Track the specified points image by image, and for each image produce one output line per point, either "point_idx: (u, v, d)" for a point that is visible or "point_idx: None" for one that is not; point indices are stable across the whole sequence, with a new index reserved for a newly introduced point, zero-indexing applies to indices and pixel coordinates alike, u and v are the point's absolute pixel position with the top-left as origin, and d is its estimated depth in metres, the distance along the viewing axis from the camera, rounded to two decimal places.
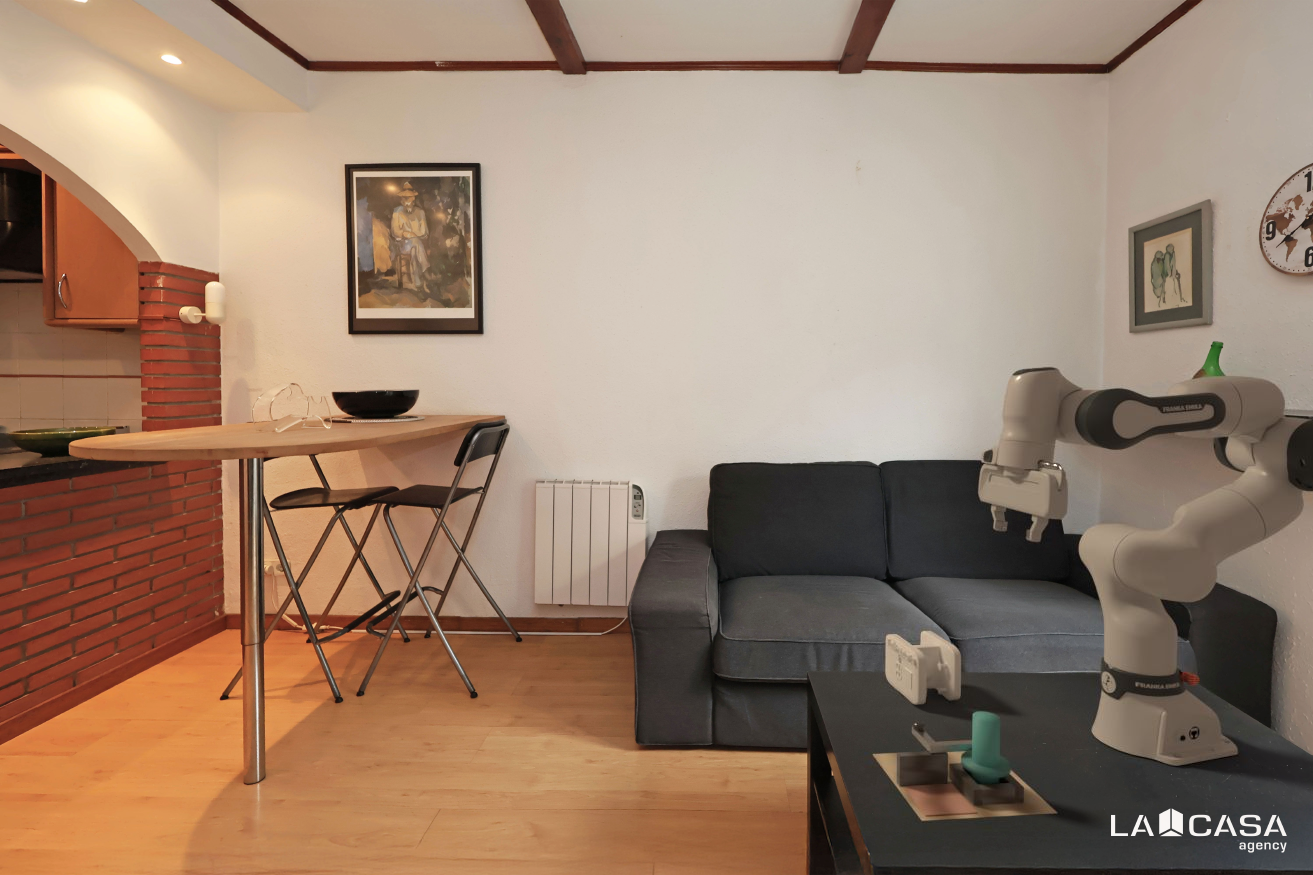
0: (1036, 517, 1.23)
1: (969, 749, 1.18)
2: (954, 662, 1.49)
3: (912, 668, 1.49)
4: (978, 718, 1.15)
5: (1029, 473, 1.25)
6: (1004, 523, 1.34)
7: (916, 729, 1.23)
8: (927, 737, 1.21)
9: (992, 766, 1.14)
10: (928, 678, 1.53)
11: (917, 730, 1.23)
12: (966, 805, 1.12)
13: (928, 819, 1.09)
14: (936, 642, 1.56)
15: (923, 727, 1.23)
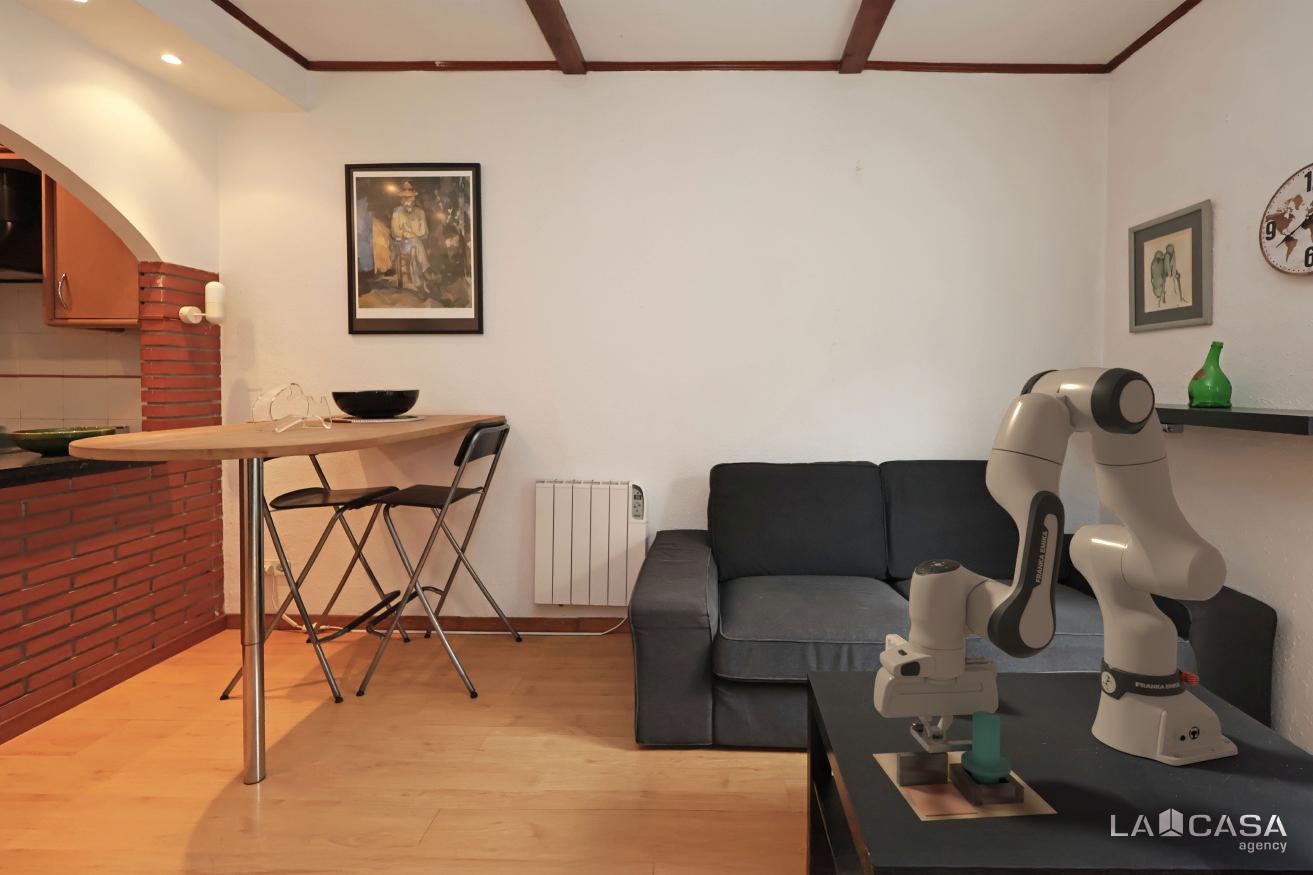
0: (951, 715, 1.21)
1: (968, 749, 1.18)
2: None
3: None
4: (978, 718, 1.15)
5: (965, 675, 1.20)
6: None
7: (915, 729, 1.23)
8: (926, 737, 1.21)
9: (992, 766, 1.14)
10: None
11: (916, 730, 1.23)
12: (966, 805, 1.12)
13: (928, 819, 1.09)
14: None
15: (922, 727, 1.23)
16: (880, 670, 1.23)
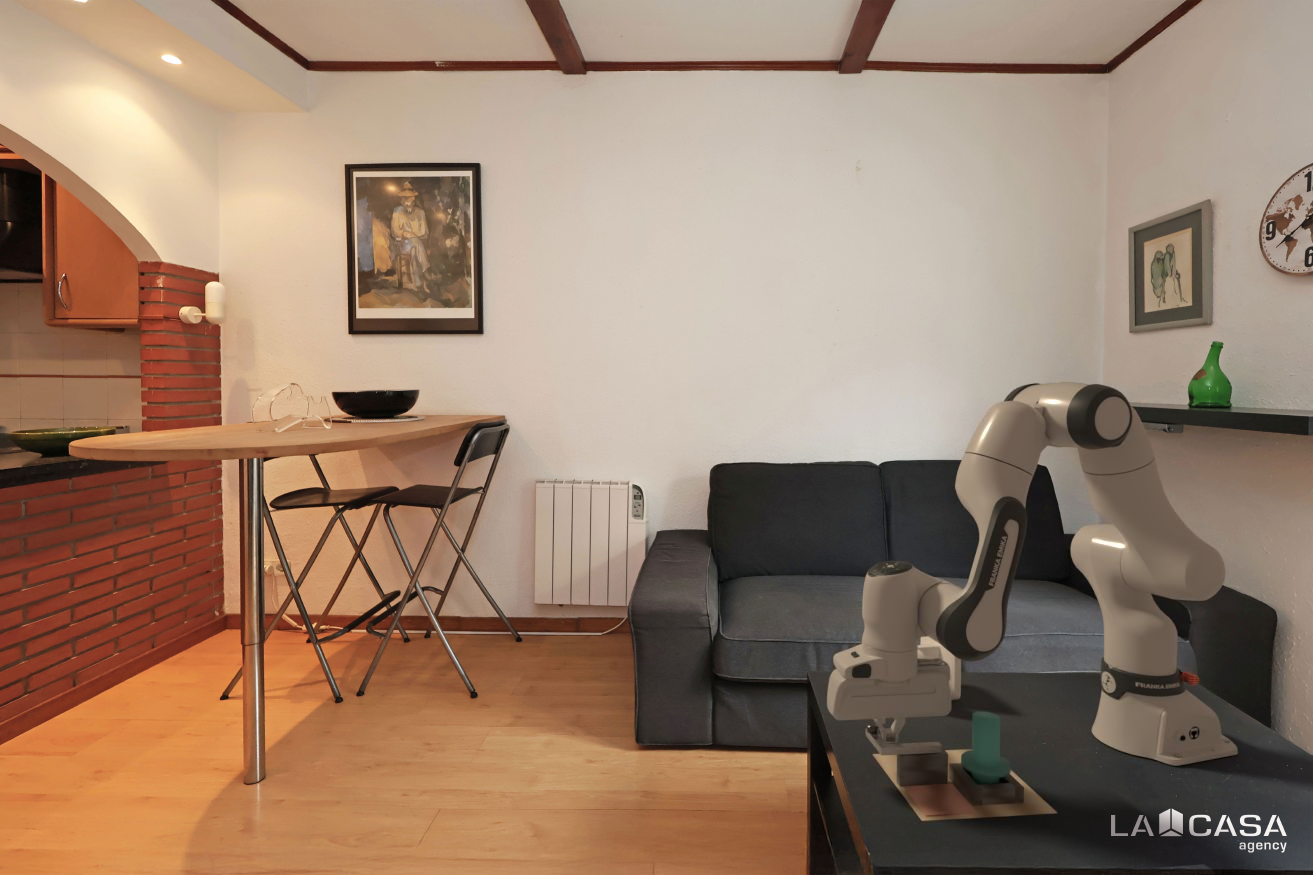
0: (904, 718, 1.21)
1: (921, 751, 1.18)
2: (954, 662, 1.49)
3: None
4: (978, 718, 1.15)
5: (918, 677, 1.20)
6: None
7: (869, 731, 1.22)
8: (879, 739, 1.20)
9: (992, 766, 1.14)
10: None
11: (870, 732, 1.22)
12: (966, 805, 1.12)
13: (928, 819, 1.09)
14: (936, 642, 1.56)
15: (876, 729, 1.22)
16: (833, 672, 1.22)
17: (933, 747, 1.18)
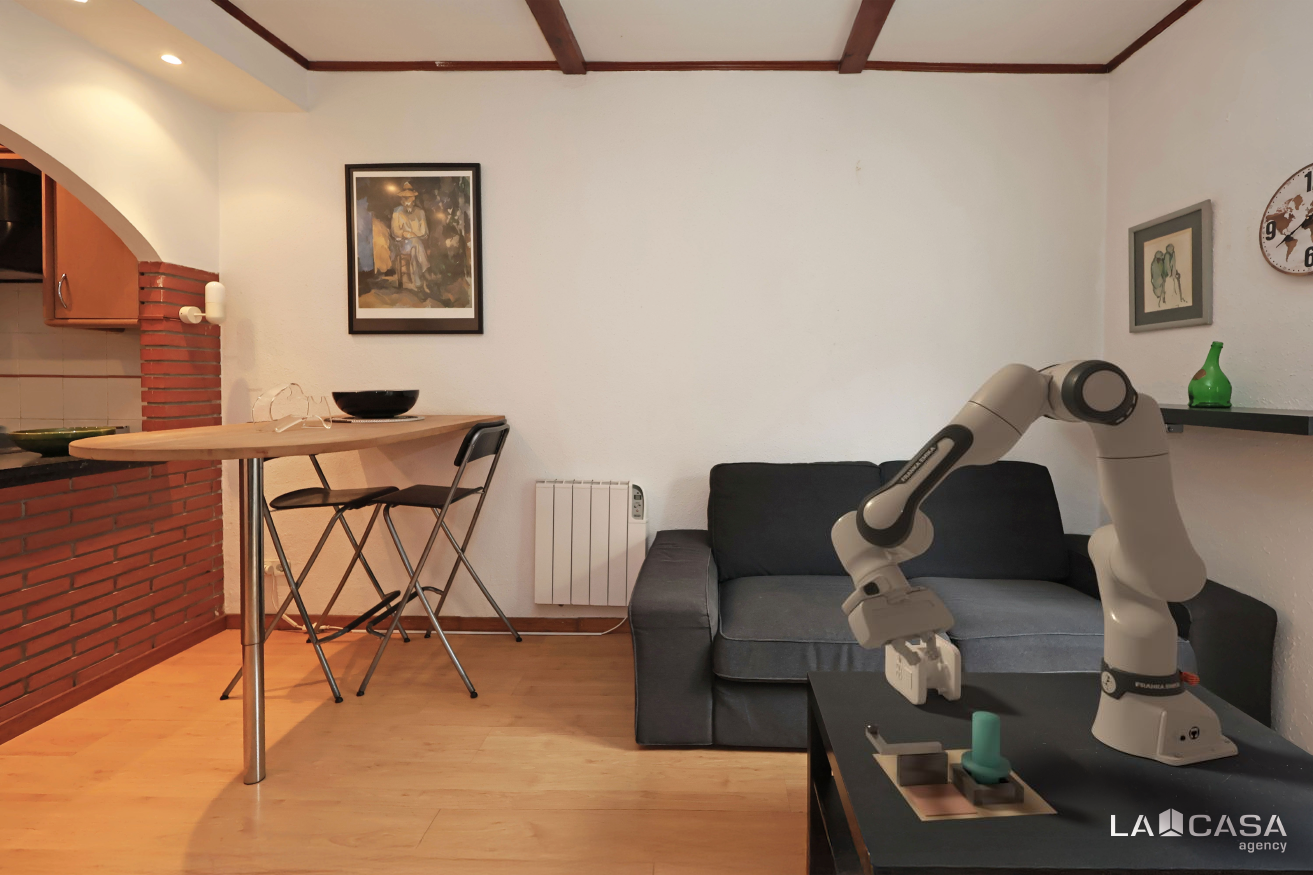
0: (932, 632, 1.30)
1: (921, 751, 1.18)
2: (954, 662, 1.49)
3: (912, 668, 1.49)
4: (978, 718, 1.15)
5: (914, 594, 1.34)
6: None
7: (869, 731, 1.22)
8: (879, 739, 1.20)
9: (992, 766, 1.14)
10: (928, 678, 1.53)
11: (870, 732, 1.22)
12: (966, 805, 1.12)
13: (928, 819, 1.09)
14: (936, 642, 1.56)
15: (876, 729, 1.22)
16: (849, 615, 1.30)
17: (933, 747, 1.18)
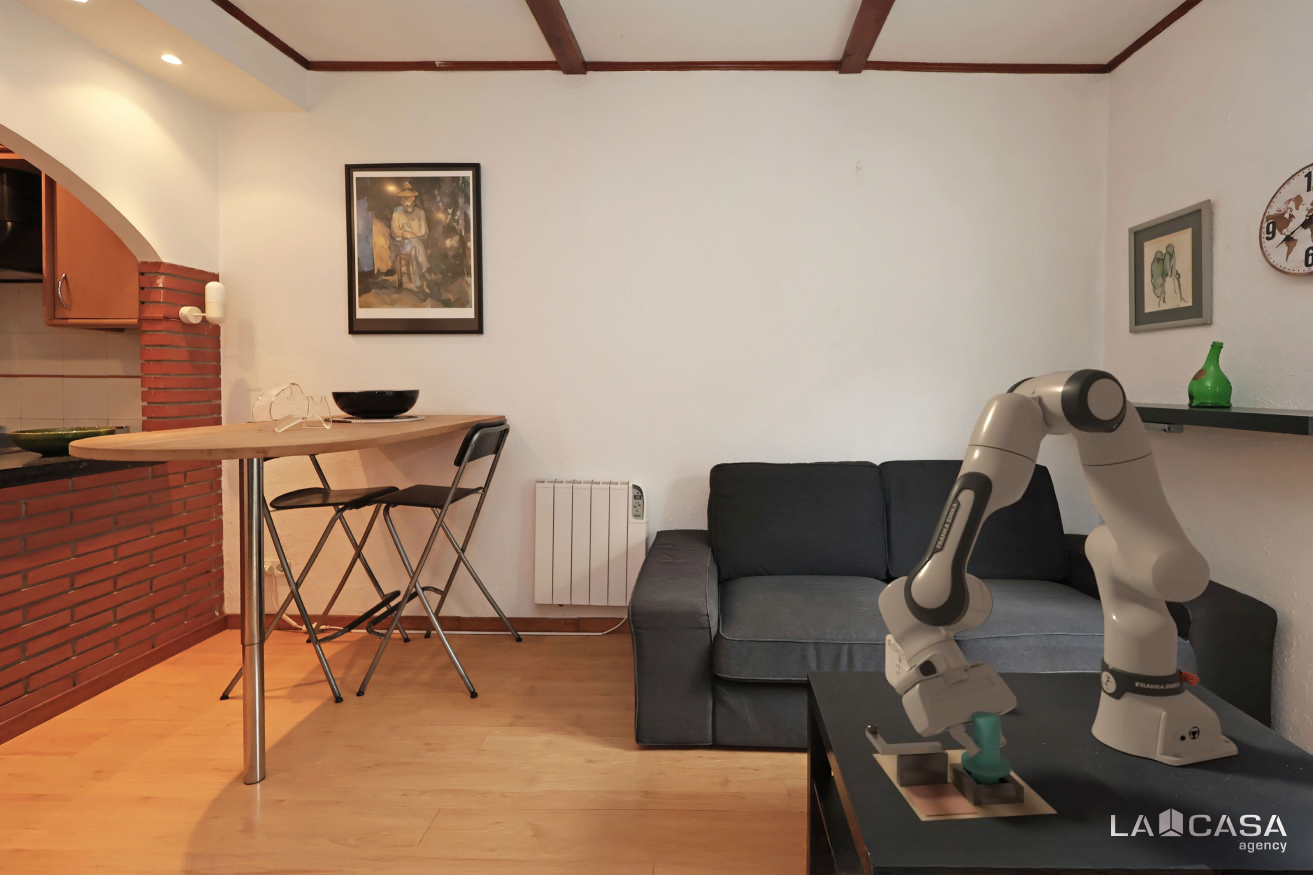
0: None
1: (921, 751, 1.18)
2: None
3: None
4: (978, 718, 1.15)
5: (972, 672, 1.23)
6: None
7: (869, 731, 1.22)
8: (879, 739, 1.20)
9: (992, 766, 1.14)
10: None
11: (870, 732, 1.22)
12: (966, 805, 1.12)
13: (928, 819, 1.09)
14: None
15: (876, 729, 1.22)
16: (903, 697, 1.19)
17: (933, 747, 1.18)
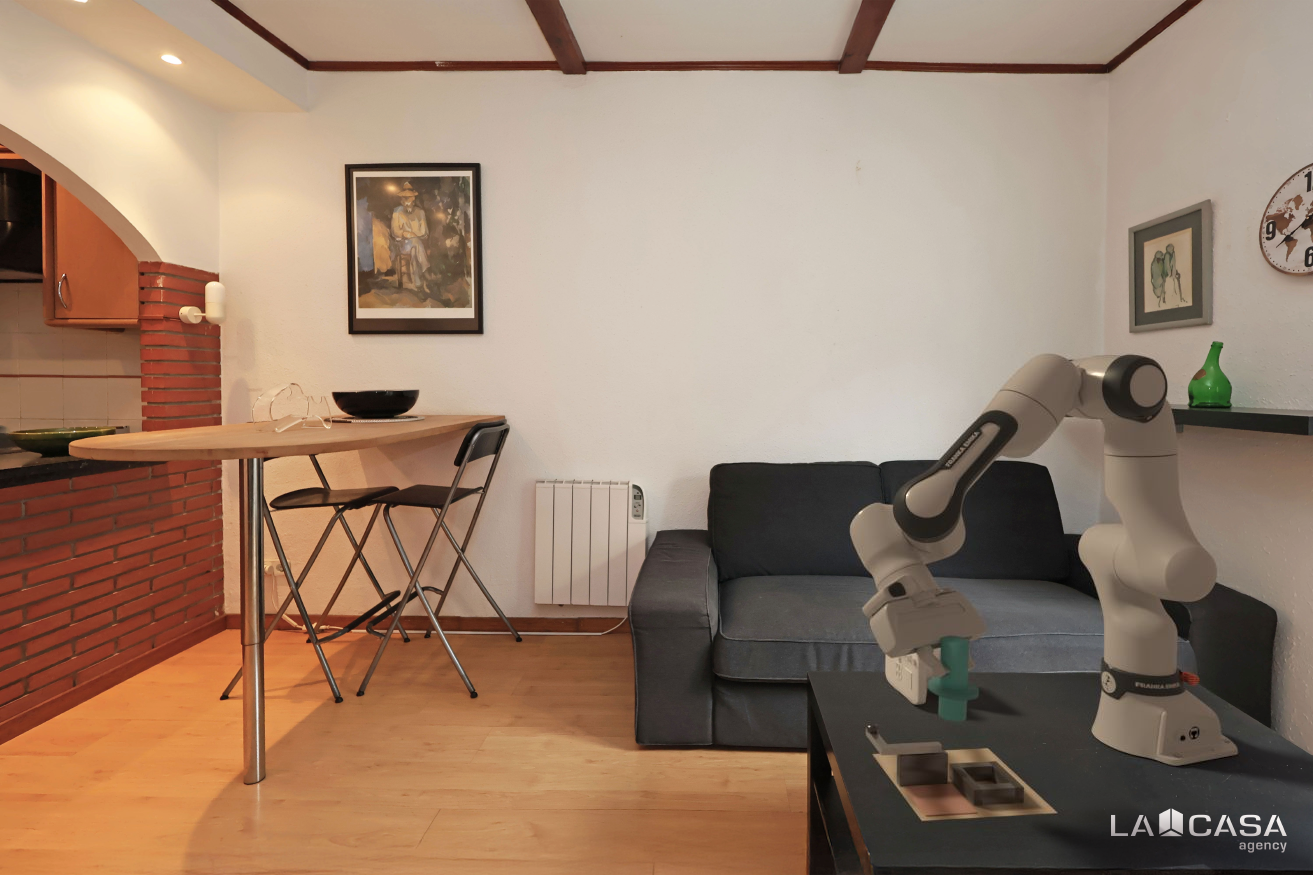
0: None
1: (921, 751, 1.18)
2: None
3: (912, 668, 1.49)
4: (946, 640, 1.12)
5: (943, 597, 1.19)
6: None
7: (869, 731, 1.22)
8: (879, 739, 1.20)
9: (960, 689, 1.11)
10: (928, 678, 1.53)
11: (870, 732, 1.22)
12: (966, 805, 1.12)
13: (928, 819, 1.09)
14: None
15: (876, 729, 1.22)
16: (871, 619, 1.16)
17: (933, 747, 1.18)
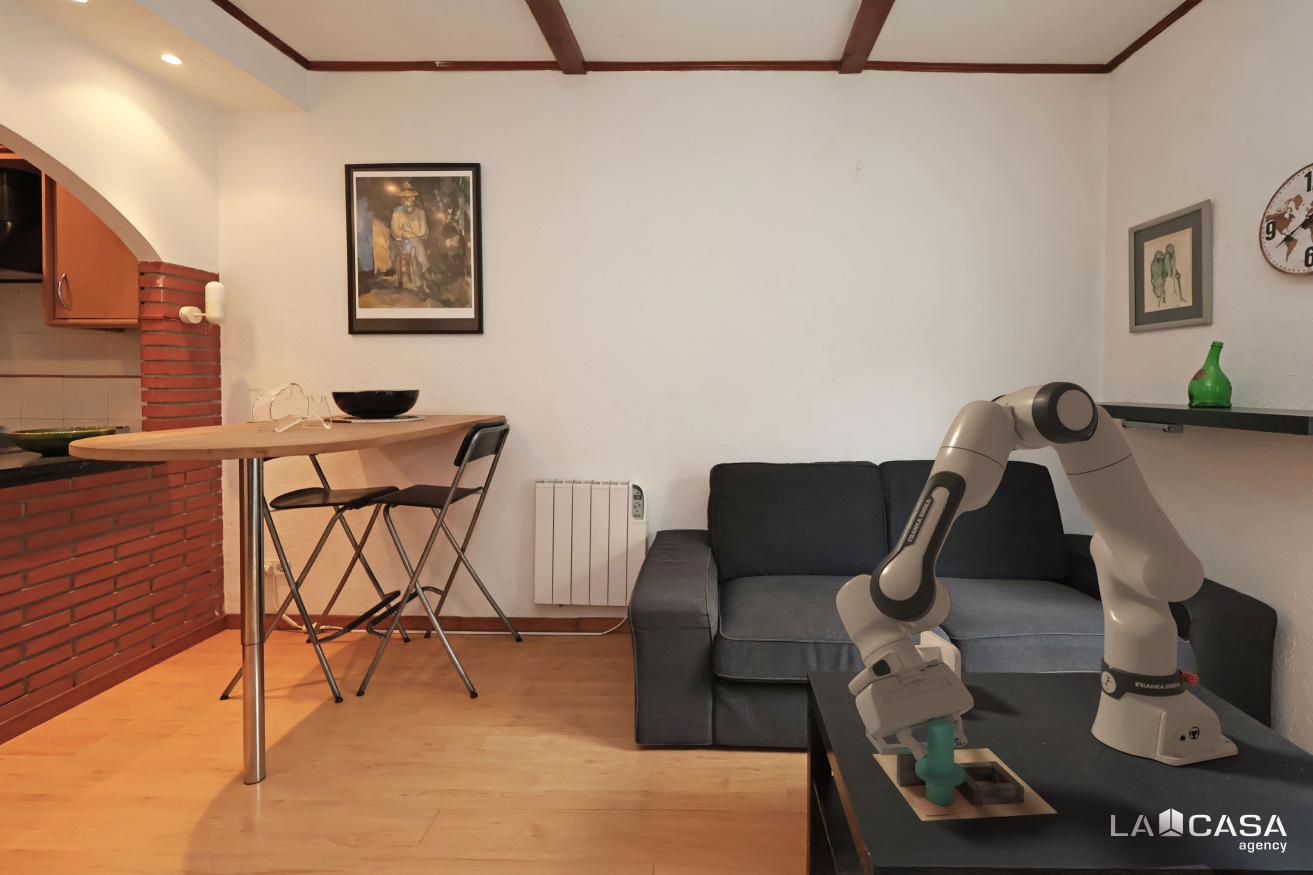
0: (957, 714, 1.17)
1: None
2: (954, 662, 1.49)
3: None
4: (932, 725, 1.12)
5: (929, 672, 1.20)
6: None
7: None
8: (879, 739, 1.20)
9: (946, 774, 1.11)
10: None
11: None
12: (966, 805, 1.12)
13: (928, 819, 1.09)
14: (936, 642, 1.56)
15: None
16: (857, 697, 1.17)
17: None
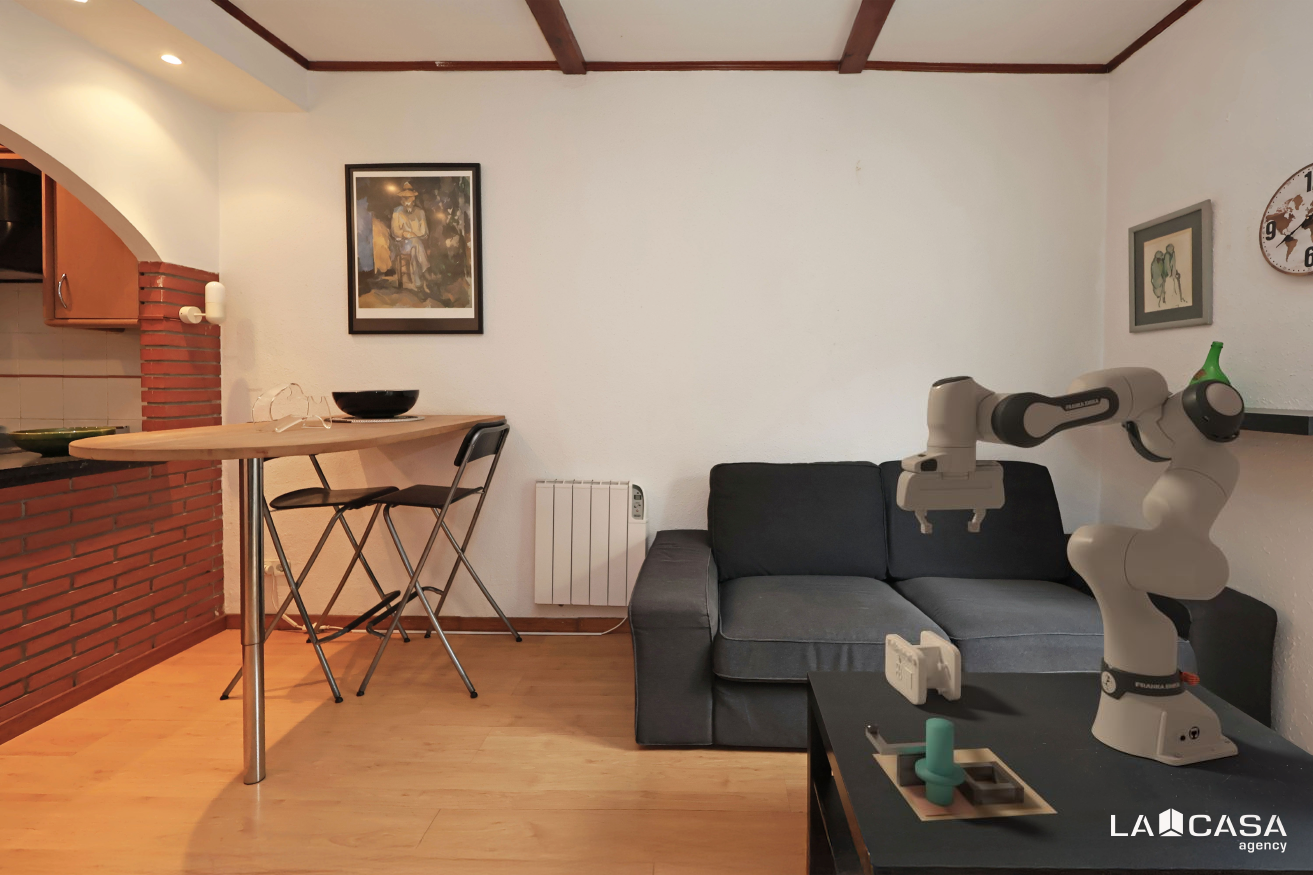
0: (984, 510, 1.41)
1: (921, 751, 1.18)
2: (954, 662, 1.49)
3: (912, 668, 1.49)
4: (931, 725, 1.12)
5: (976, 473, 1.39)
6: None
7: (869, 731, 1.22)
8: (879, 739, 1.20)
9: (945, 774, 1.11)
10: (928, 678, 1.53)
11: (870, 732, 1.22)
12: (966, 805, 1.12)
13: (928, 819, 1.09)
14: (936, 642, 1.56)
15: (876, 729, 1.22)
16: (902, 473, 1.42)
17: None
